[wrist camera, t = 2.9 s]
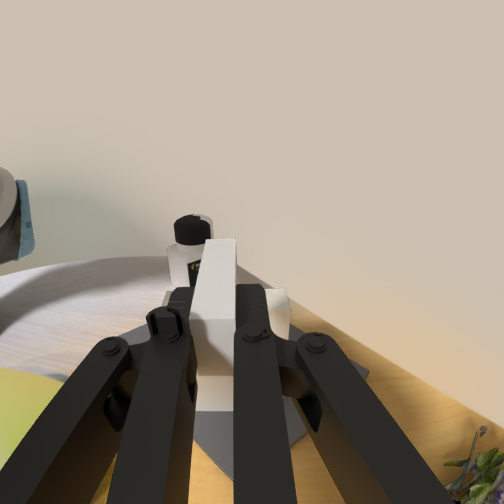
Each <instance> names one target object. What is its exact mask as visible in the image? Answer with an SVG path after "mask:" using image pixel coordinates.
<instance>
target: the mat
mask: <svg viewBox="0 0 504 504" xmlns="http://www.w3.org/2000/svg"><path fill="white" fill-rule="evenodd" d="M304 334H306V333H304V332H303V331H301V330H300V329H298V328H296V327H295V326H293V325H291V324H289V337H288V340H292V341H297V340H298V339H299V338H300V337H301V336H302V335H304ZM117 337H121V338H123V339H125V340H126V341H127V342H128V344H129V345H134V344H139V343H143V342H146V341H148V340H150V337H151V336H150V332H149V328H148V324H145V325H143V326H140V327H138V328H136V329H133V330H131V331H129V332H126V333H124V334H122V335H119V336H117ZM349 360H350V359H349ZM350 361H351V363H352V364H353V365H354V367H355V368H356V369H357V371H358V372H359V373H360V375H361V376H362V377H363V379H365V378H366V377H367V376H368V374H369V370H367V369H366V368H364V367H362V366H360V365H359V364H357V363H355V362H353V361H352V360H350ZM283 403H284V410H285V417H286V424H287V431H288V439H289V446H290V447H291V446H293V445H294V444H295V443H296V442H298V441H299V440H300V439H301V438H302V437H303V436H305V435H306V434H307V433H308V431H307V429H306V427H305V425H304V423H303V421H302V419H301V417H300V415H299V413H298V411H297V409H296V407H295V405H294V403H293V401H292V398H291V397H286V396H283ZM193 440H194V441H195V442H196V443H197V444H198V445H199V446H200V447H201V449H202V450H203V451H204V452H205V453H206V454H207V455H208V456H209V457H210V458H211V459H212V460H213V462H214V463H215V464H216V465H217V466H218V467H219V468H220V469H221V470H222V471H223V472H224V473H225V474H226V475H227V476H228V477H229V478H230V479H231V480H232V481H233V411H195V421H194V432H193Z"/></svg>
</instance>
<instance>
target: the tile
mask: <svg viewBox="0 0 504 504" xmlns="http://www.w3.org/2000/svg"><path fill="white" fill-rule="evenodd" d="M172 292H173V291H167V292H166V295H165V298H164V300H163V303H162V306H167V304H168V302H169V298H170V295H171V293H172ZM265 292H266V299H267V306H268V313H269V320H270V326H271V329H272V331H273V332H274V334H276V335H277V336H279V337H281V338H283V339H287V340H288V337H289V324H290V310H291V309H290V305H289V301H288V297H287V293H286V288H278V289H265ZM162 306H161V307H162ZM196 379H197V384H198V391H197V401H196V411H233V376H199V375H198V369H197V375H196Z"/></svg>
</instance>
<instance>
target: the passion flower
mask: <svg viewBox="0 0 504 504" xmlns="http://www.w3.org/2000/svg"><path fill="white" fill-rule="evenodd" d="M479 430H481V432H480V437H481V436H483V434H484V433H486V430H487V427H486V426H481V427H480V428H479ZM479 430H478V431H477V432H476V435H475V438H474V442H473V445H472V449H471V452H470V457H469V458H468V459H467V460H463V461H449V462H447V463H445V464H444V466H445V465H447V466H460V467H462V468H463V469H464V472H463V475H462V476H461V477H460V478H459V479H457V480H455V481H454V482H453V483H451V484H449V485H446V486H445V485H443V487H444V488H445V489H449V490H450V494H451V495H453V497H452V499H453V501H454V502H455V504H504V453H500V452H498V449H499V448H498V447H497V448H494V449H492V450H490V451H488V452H485V453H484V452H482V453H480V452H479V453H478V455H477V457H476V460H475V463H473V461H472V460H471V457H472V455H473V451H474V448H475V443H476V440H477V437H478V432H479ZM469 470H471V471H473V475H474V477H473V479H472V480H471V481H470V482H468V483H467V484H465V485H462V483H463V481H464V478H465V476H466V474H467V472H468V471H469ZM492 477H496V480H495V481H494V482H493V483H492V481H493V479H492ZM480 478H481V480H479V481H478V483H477V485H474V486H472V487H471V484H472V483H473V482H474V481H476V480H478V479H480ZM464 491H467V492H466V494H465V495H464V496H463V497H462V498H460V499H457V500H456V497H457V495H458V494H460V493H461V492H464ZM464 501H465V502H464ZM462 502H464V503H462Z"/></svg>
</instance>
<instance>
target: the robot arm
mask: <svg viewBox="0 0 504 504" xmlns="http://www.w3.org/2000/svg"><path fill="white" fill-rule="evenodd" d="M34 246H35V242H34V235H33V228H32V223H31V214H30V205H29V197H28V189H27V184H26V182H25V181H24V180H16V181H15V180H14V178H13V176H12V175H11V174H10V173H9V172H8V171H7V170H5V169H3V168H1V167H0V265H1V264H4V263H7V262H10V261H13V260H14V261H17V260H19V259H20V258H22V257H24V256H27V255H29V254H31V253H32V252H33V250H34ZM236 257H237V256H236V238H232V239H206V242H205V246H204V251H203V255H202V259H201V264H200V268H199V273H198V277H197V282H196V286H195V287H177V288H176V289H175V290H174V291H173V292H172V293H171V295H170V298H169V302H168V304H167V306H162V307H158V308H156V309H153V310H152V311H150V312H149V313H148V315H147V316H146V320H147V324H148V328H149V332H150V336H151V337H150V340H148V341H146V342H143V343H139V344H134V345H129V344H128V342H127V341H126V340H125V339H123V338H121V337H115V336H113V337H108V338H105V339H103V340H101V341H99V342H98V343H97V344H96V345H95V346H94V347H93V349H92V350H91V351H90V352H89V354H88V355H87V356H86V357H85V358H84V360H83V361H82V362H81V363H80V365H79V366H78V367H77V368H76V370H75V371H74V372H73V373H72V375H71V376H70V377H69V378H68V380H67V381H66V382H65V383H64V385H63V386H62V387H61V389H60V390H59V391H58V392H57V394H56V395H55V396H54V397H53V399H52V400H51V401H50V403H49V404H48V405H47V407H46V408H45V409H44V411H43V412H42V413H41V415H40V416H39V418H38V419H37V420H36V421H35V423H34V424H33V425H32V427H31V428H30V430H29V431H28V432H27V434H26V435H25V436H24V438H23V439H22V440H21V442H20V443H19V445H18V446H17V448H16V449H15V450H14V452H13V453H12V455H11V456H10V458H9V459H8V461H7V462H6V463H5V465H4V466H3V468H2V469H1V471H0V504H90V502H91V500H92V498H93V496H94V494H95V492H96V491H97V489H98V487H99V485H100V483H101V481H102V479H103V478H104V476H105V474H106V472H107V470H108V468H109V466H110V465H111V463H112V461H113V459H114V457H115V455H116V454H117V457H116V461H115V466H114V470H113V474H112V479H111V483H110V488H109V493H108V497H107V502H106V504H188V495H189V481H190V468H191V455H192V443H193V432H194V421H195V411H196V401H197V391H198V384H197V379H196V375H197V369H198V375H199V376H233V484H234V504H297V498H296V490H295V483H294V475H293V468H292V461H291V453H290V446H289V439H288V431H287V424H286V417H285V410H284V403H283V396H286V397H291V398H292V401H293V403H294V405H295V407H296V409H297V411H298V413H299V415H300V417H301V419H302V421H303V423H304V425H305V427H306V429H307V431H308V433H309V435H310V437H311V439H312V440H313V442H314V444H315V446H316V448H317V450H318V452H319V454H320V456H321V458H322V460H323V461H324V463H325V465H326V467H327V469H328V471H329V473H330V475H331V477H332V478H333V480H334V482H335V484H336V486H337V488H338V490H339V491H340V493H341V495H342V497H343V499H344V501H345V502H346V504H455V502H454V501H453V499H452V498H451V497H450V495H449V494H448V492H447V491H446V490H445V488H444V487H443V486H442V484H441V483H440V481H439V480H438V479H437V477H436V476H435V475H434V473H433V472H432V470H431V469H430V468H429V466H428V465H427V464H426V462H425V461H424V459H423V458H422V457H421V455H420V454H419V453H418V451H417V450H416V449H415V447H414V446H413V444H412V443H411V442H410V440H409V439H408V438H407V436H406V435H405V434H404V432H403V431H402V430H401V428H400V427H399V426H398V424H397V423H396V422H395V420H394V419H393V417H392V416H391V415H390V413H389V412H388V411H387V409H386V408H385V407H384V405H383V404H382V403H381V401H380V400H379V399H378V397H377V396H376V395H375V393H374V392H373V391H372V389H371V388H370V387H369V385H368V384H367V383H366V381H365V380H364V379H363V377H362V376H361V375H360V373H359V372H358V371H357V369H356V368H355V367H354V365H353V364H352V363H351V361H350V360H349V359H348V357H347V356H346V355H345V354H344V352H343V351H342V350H341V348H340V347H339V346H338V344H337V343H336V342H335V340H334V339H332V338H331V337H330V336H328V335H326V334H324V333H318V332H313V333H307V334H304V335H302V336H301V337H300V338H299V339H298V340H297V341H292V340H287V339H283V338H281V337H279V336H277V335H276V334H274V332H273V331H272V329H271V326H270V320H269V313H268V306H267V299H266V292H265V289H264V288H263V287H262V286H261V285H260V284H238V277H237V258H236ZM117 452H118V453H117Z"/></svg>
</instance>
